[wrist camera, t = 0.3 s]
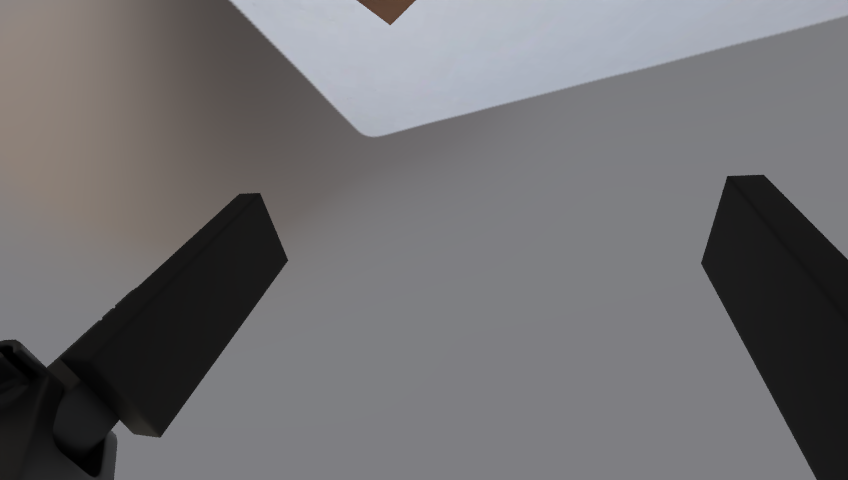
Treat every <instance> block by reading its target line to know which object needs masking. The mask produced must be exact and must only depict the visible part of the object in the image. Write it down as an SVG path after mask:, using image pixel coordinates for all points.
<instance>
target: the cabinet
mask: <svg viewBox="0 0 848 480" xmlns="http://www.w3.org/2000/svg"><path fill="white" fill-rule="evenodd" d="M357 1H359V2H360V3H361V4H363V5H364V6H365V7H367V8H368V9H369V10H371V11H372V12H373V13H375V14H376V15H377V16H379V17H380V18H381V19H383V20H384V21H385V22H387V23H388V24H389V25H391V24H392V23H393V22H394V21H395V20H396V19H397V18H398V17H399V16H400V15H401V14H402V13H403V12H404V11H405V10H406V9H407V8H408V7H409V6H410V5H411V4H412V3H413V2H414V1H415V0H357Z"/></svg>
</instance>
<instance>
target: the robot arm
mask: <svg viewBox="0 0 848 480" xmlns="http://www.w3.org/2000/svg"><path fill="white" fill-rule="evenodd" d="M287 261H288V259H287V257H286V254H285V252H284V249H283V247H282V245H281V242H280V240H279V237H278V235H277V232H276V230H275V228H274V225H273V223H272V221H271V218H270V216H269V214H268V211H267V209H266V206H265V204H264V202H263V199H262V197H261V195H260V193H253V194H252V193H251V194H239V195H238V196H237V197H236V198H234V199H233V200H232V201H231V202H230V203H229V204H228V205H227V206H226V207H225V208H223V209H222V210H221V211H220V212H219V213H218V214H217V215H216V216H215V217H214V218H213V219H212V220H210V221H209V222H208V223H207V224H206V225H205V226H204V227H203V228H202V229H200V230H199V231H198V232H197V233H196V234H195V235H194V236H193V237H192V238H191V239H190V240H188V242H186V243H185V244H184V245H183V246H182V247H181V248H180V249H179V250H178V251H177V252H175V254H173V255H172V256H171V257H170V258H169V259H168V260H167V261H166V262H164V263H163V264H162V265H161V266H160V267H159V268H158V269H157V270H156V271H155V272H154V273H152V274H151V275H150V276H149V277H148V278H147V279H146V280H145V281H144V282H143V283H142V284H140V285H139V286H138V287H137V288H135V289H134V290H132V291H131V292H129V293H128V294H127V295H126V296H125V297H124V298H123V299H122V300H121V301H120V302H119V303H117V304H116V305H115V308H112V309H111V310H110V311H109V312H108V313H107V314H105V315H104V316H103V317H102V320H101V321H98V322H97V323H95V324H94V325H93V326H92V327H91V328H90V329H89V330H88V331H87V332H86V333H84V334H83V335H82V336H81V337H80V338H79V339H78V340H77V341H76V342H75V343H73V344H72V345H71V346H70V347H69V348H68V349H67V350H66V351H65V352H64V353H62V354H61V355H60V356H59V357H58V358H57V359H56V360H55V361H54V362H53V363H52V364H50V365H49V366H48V367H47V368H46V367H45V366H44V365H43V364H42V363H41V362H40V361H39V360H38V359H37V358H36V357H35V356H34V355H33V354H32V353H31V352H30V351H29V350H28V349H27V348H25V346H23V345H22V344H21V343H20V342H18V341H17V340H4V341H0V480H114V472H115V462H116V451H117V438H116V435H115V434H114V433H113V432H112V431H111V429H112V428H113V427H114V426H115V424H116V423H117V422H118V421H119V420H120V421H121V422H123V424H124V425H125V426H126V427H127V428H128V429H129V430H130V431H131V432H132V433H134V434H137V435H145V436H152V437H161V436H162V434H163V433H164V431H165V430H166V429H167V427H168V426H169V425H170V423H171V422H172V421H173V419H174V418H175V416H176V415H177V414H178V412H179V411H180V409H181V408H182V407H183V405H184V404H185V403H186V401H187V400H188V398H189V397H190V396H191V394H192V393H193V391H194V390H195V389H196V387H197V386H198V384H199V383H200V382H201V380H202V379H203V378H204V376H205V375H206V373H207V372H208V371H209V369H210V368H211V366H212V365H213V364H214V362H215V361H216V360H217V358H218V357H219V355H220V354H221V353H222V351H223V350H224V348H225V347H226V346H227V344H228V343H229V342H230V340H231V339H232V337H233V336H234V335H235V333H236V332H237V331H238V329H239V328H240V326H241V325H242V324H243V322H244V321H245V319H246V318H247V317H248V315H249V314H250V312H251V311H252V310H253V308H254V307H255V306H256V304H257V303H258V301H259V300H260V299H261V297H262V296H263V295H264V293H265V292H266V290H267V289H268V288H269V286H270V285H271V283H272V282H273V281H274V279H275V278H276V276H277V275H278V274H279V272H280V271H281V270H282V268H283V267H284V265H285V264H286V263H287ZM701 264H702V266H703V268H704V270H705V272H706V273H707V275H708V277H709V279H710V281H711V283H712V285H713V287H714V288H715V290H716V292H717V294H718V296H719V298H720V299H721V301H722V303H723V305H724V307H725V309H726V311H727V313H728V315H729V316H730V318H731V320H732V322H733V324H734V326H735V328H736V330H737V331H738V333H739V335H740V337H741V339H742V341H743V343H744V345H745V346H746V348H747V350H748V352H749V354H750V356H751V358H752V359H753V361H754V363H755V365H756V367H757V369H758V371H759V373H760V374H761V376H762V378H763V380H764V382H765V384H766V386H767V388H768V389H769V391H770V393H771V395H772V397H773V399H774V401H775V402H776V404H777V406H778V408H779V410H780V412H781V414H782V415H783V417H784V419H785V421H786V423H787V425H788V427H789V428H790V430H791V432H792V434H793V436H794V438H795V440H796V442H797V444H798V445H799V447H800V449H801V451H802V453H803V455H804V456H805V458H806V460H807V462H808V464H809V466H810V468H811V470H812V472H813V473H814V475H815V477H816V479H817V480H848V260H847V258H846V257H845V256H844V255H843V254H842V253H841V252H840V251H838V250H837V248H836V247H834V245H833V244H832V243H831V242H829V240H828V239H827V238H826V237H825V236H824V235H823V234H822V233H821V232H820V231H819V230H818V229H817V228H816V227H815V226H814V225H813V224H812V223H811V222H810V221H809V220H808V219H807V218H806V217H805V216H804V215H803V214H802V213H801V212H800V211H799V210H798V209H797V208H796V207H795V206H794V205H793V204H792V203H791V202H790V201H789V200H788V199H787V198H786V197H785V196H784V195H783V194H782V193H781V192H780V191H779V190H778V189H777V188H776V187H775V186H774V185H773V184H772V183H771V182H770V181H769V180H768V179H767V178H766V177H765V176H764V175H745V176H727V179H726V183H725V186H724V189H723V192H722V196H721V199H720V202H719V206H718V209H717V212H716V216H715V219H714V222H713V226H712V229H711V233H710V236H709V239H708V242H707V246H706V249H705V252H704V256H703V260H702V262H701Z"/></svg>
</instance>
